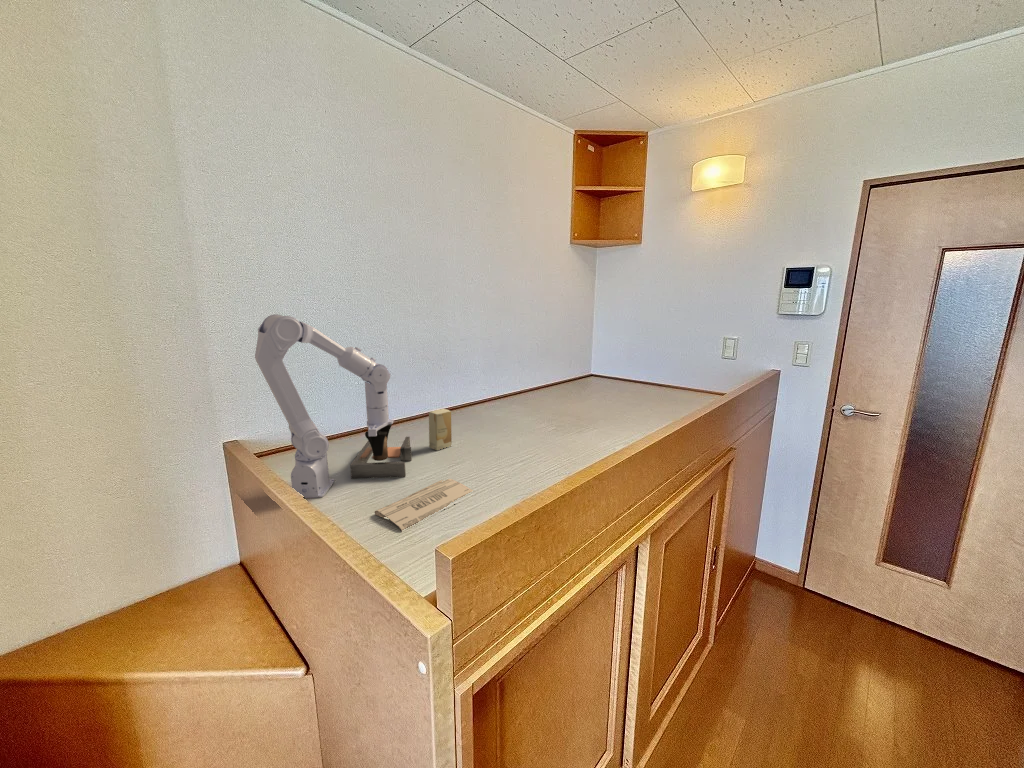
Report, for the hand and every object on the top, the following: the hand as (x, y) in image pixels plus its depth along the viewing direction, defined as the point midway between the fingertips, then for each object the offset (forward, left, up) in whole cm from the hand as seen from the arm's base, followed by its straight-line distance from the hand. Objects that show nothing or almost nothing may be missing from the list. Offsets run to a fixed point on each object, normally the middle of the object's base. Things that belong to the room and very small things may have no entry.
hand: (380, 452), depth 115 cm
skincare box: (+16, -16, -5) cm, 23 cm away
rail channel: (+4, -1, -5) cm, 6 cm away
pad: (+12, 0, -5) cm, 13 cm away
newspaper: (-21, -15, -6) cm, 26 cm away
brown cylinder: (0, 0, -2) cm, 2 cm away
